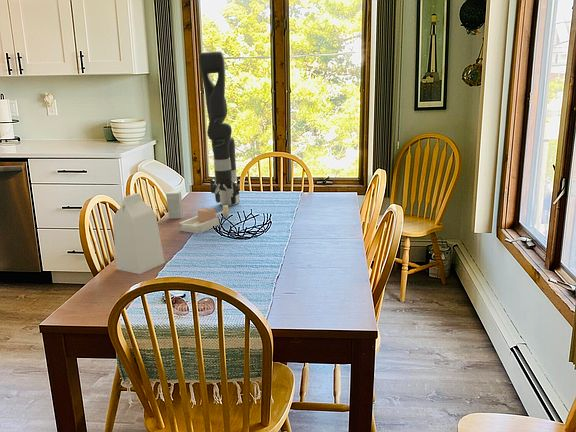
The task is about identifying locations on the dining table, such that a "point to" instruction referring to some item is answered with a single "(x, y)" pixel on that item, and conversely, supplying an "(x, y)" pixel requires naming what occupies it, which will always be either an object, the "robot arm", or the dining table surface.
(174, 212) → the skincare box
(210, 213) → the peach block with knob
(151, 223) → the milk
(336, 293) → the dining table surface
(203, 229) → the shelf lane
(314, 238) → the dining table surface
